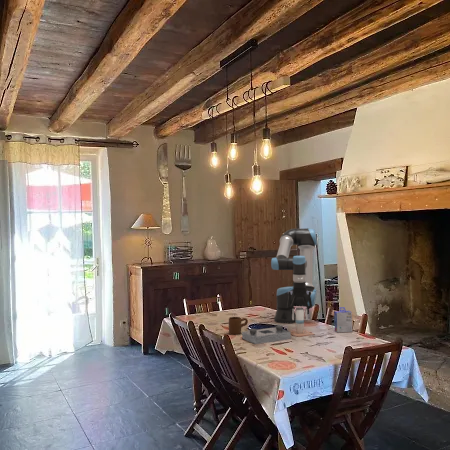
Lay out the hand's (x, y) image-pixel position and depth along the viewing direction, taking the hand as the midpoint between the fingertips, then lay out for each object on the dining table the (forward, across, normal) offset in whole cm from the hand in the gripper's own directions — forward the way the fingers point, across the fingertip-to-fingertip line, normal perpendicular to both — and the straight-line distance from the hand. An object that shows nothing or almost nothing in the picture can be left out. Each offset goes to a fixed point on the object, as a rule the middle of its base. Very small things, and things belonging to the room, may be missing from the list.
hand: (299, 319), depth 270 cm
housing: (+9, -21, -12) cm, 25 cm away
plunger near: (+7, -29, -17) cm, 34 cm away
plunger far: (+7, -13, -8) cm, 17 cm away
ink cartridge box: (+9, +27, +7) cm, 30 cm away
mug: (+9, -37, +2) cm, 38 cm away
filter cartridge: (+8, 0, 0) cm, 8 cm away
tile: (+9, 0, 0) cm, 9 cm away
